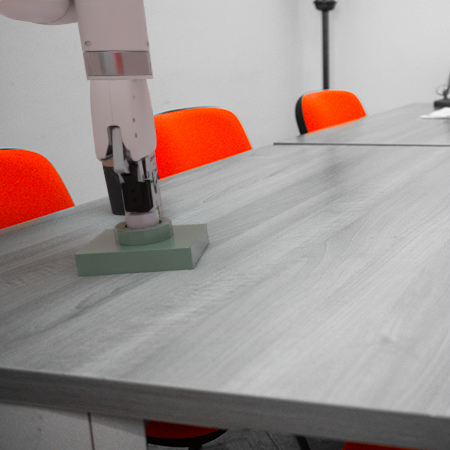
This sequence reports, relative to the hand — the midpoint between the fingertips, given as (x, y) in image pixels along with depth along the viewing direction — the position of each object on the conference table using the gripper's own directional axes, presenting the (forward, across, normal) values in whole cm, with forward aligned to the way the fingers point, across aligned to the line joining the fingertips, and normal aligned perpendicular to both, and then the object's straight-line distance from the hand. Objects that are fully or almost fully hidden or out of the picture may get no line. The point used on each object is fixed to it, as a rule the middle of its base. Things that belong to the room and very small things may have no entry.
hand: (139, 210), depth 76 cm
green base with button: (+7, 0, 0) cm, 7 cm away
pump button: (+2, 0, 0) cm, 2 cm away
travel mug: (+7, -28, -10) cm, 31 cm away
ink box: (+7, -21, -6) cm, 23 cm away
